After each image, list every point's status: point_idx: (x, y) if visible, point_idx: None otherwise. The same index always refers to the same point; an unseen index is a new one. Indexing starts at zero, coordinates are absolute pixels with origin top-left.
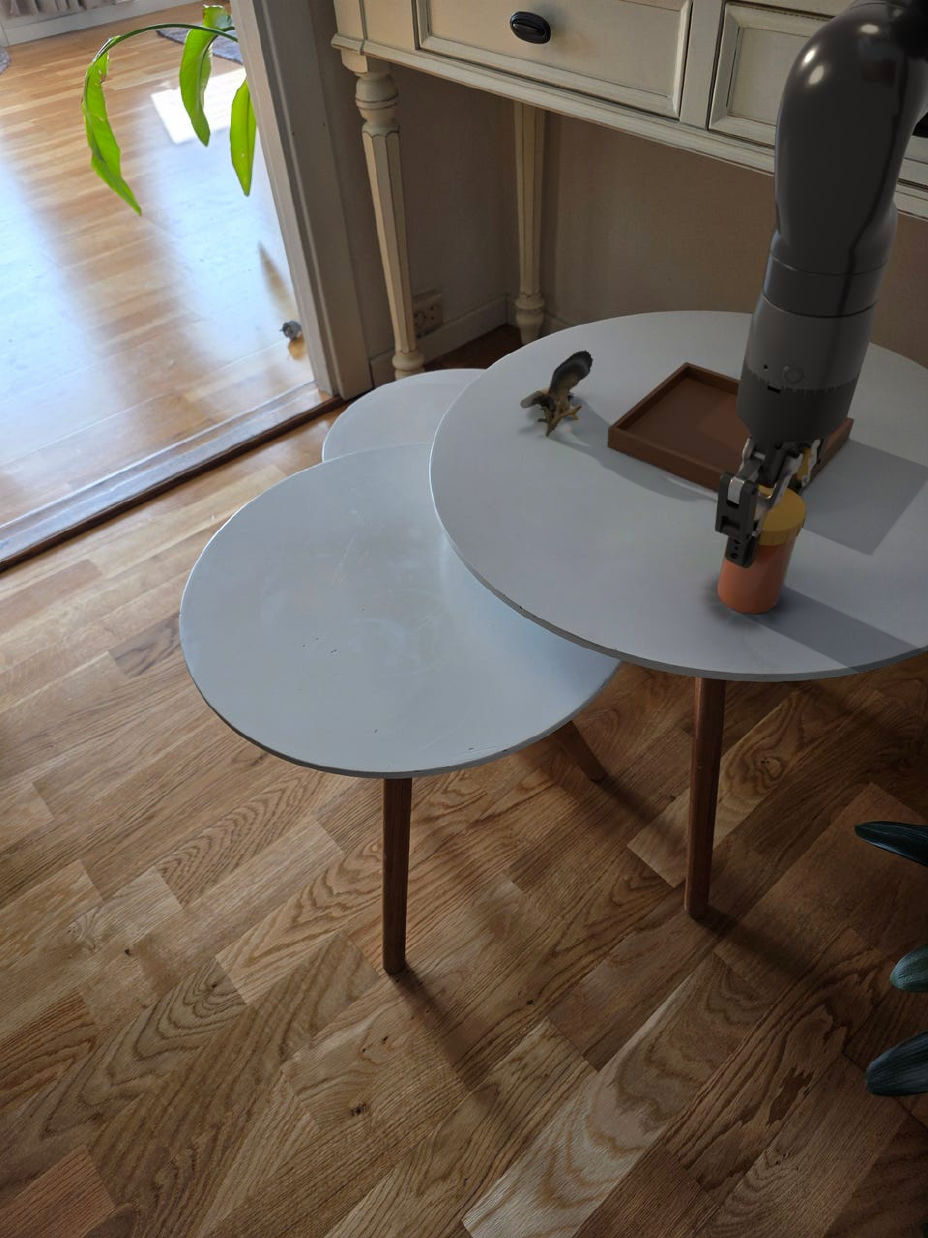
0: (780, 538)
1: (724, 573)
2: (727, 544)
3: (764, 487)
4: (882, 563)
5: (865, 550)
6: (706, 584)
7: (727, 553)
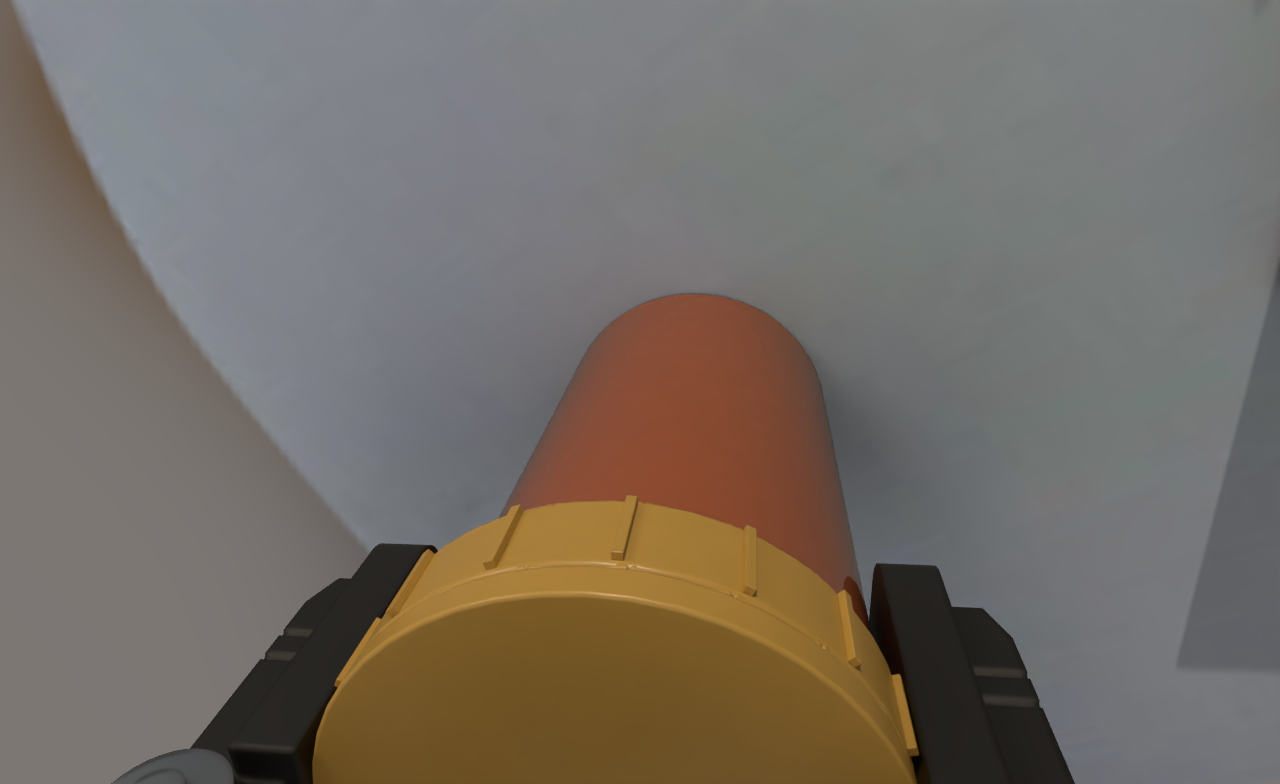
0: None
1: (560, 402)
2: (334, 605)
3: (816, 765)
4: (1153, 709)
5: (1205, 647)
6: (626, 257)
7: (296, 621)
